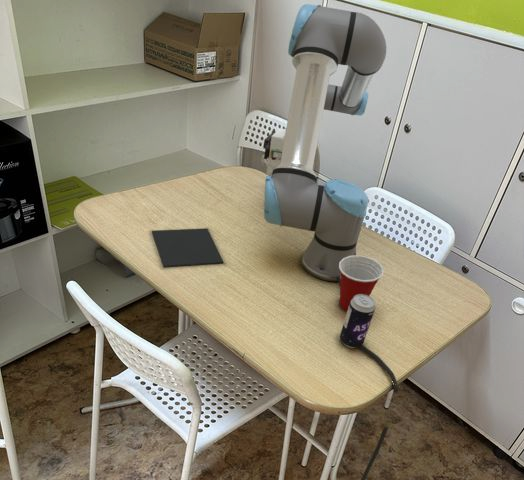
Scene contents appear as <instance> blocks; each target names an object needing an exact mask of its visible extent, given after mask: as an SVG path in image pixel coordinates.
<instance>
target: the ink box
mask: <svg viewBox="0 0 524 480" xmlns="http://www.w3.org/2000/svg"><path fill="white" fill-rule="evenodd" d="M285 132H286V128H281V127H280V128H278V129H277V130H276V131H275V133H274V134H273V135H272V138H271V145H270V152H269V157H268V158H267V159H268V161H267V167H266V176H269V175H271V176H272V172H273V169H274V168H275V167H276V166H278V165H279V164H280V160H281V155H282V149H283V143H284V138H285Z"/></svg>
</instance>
